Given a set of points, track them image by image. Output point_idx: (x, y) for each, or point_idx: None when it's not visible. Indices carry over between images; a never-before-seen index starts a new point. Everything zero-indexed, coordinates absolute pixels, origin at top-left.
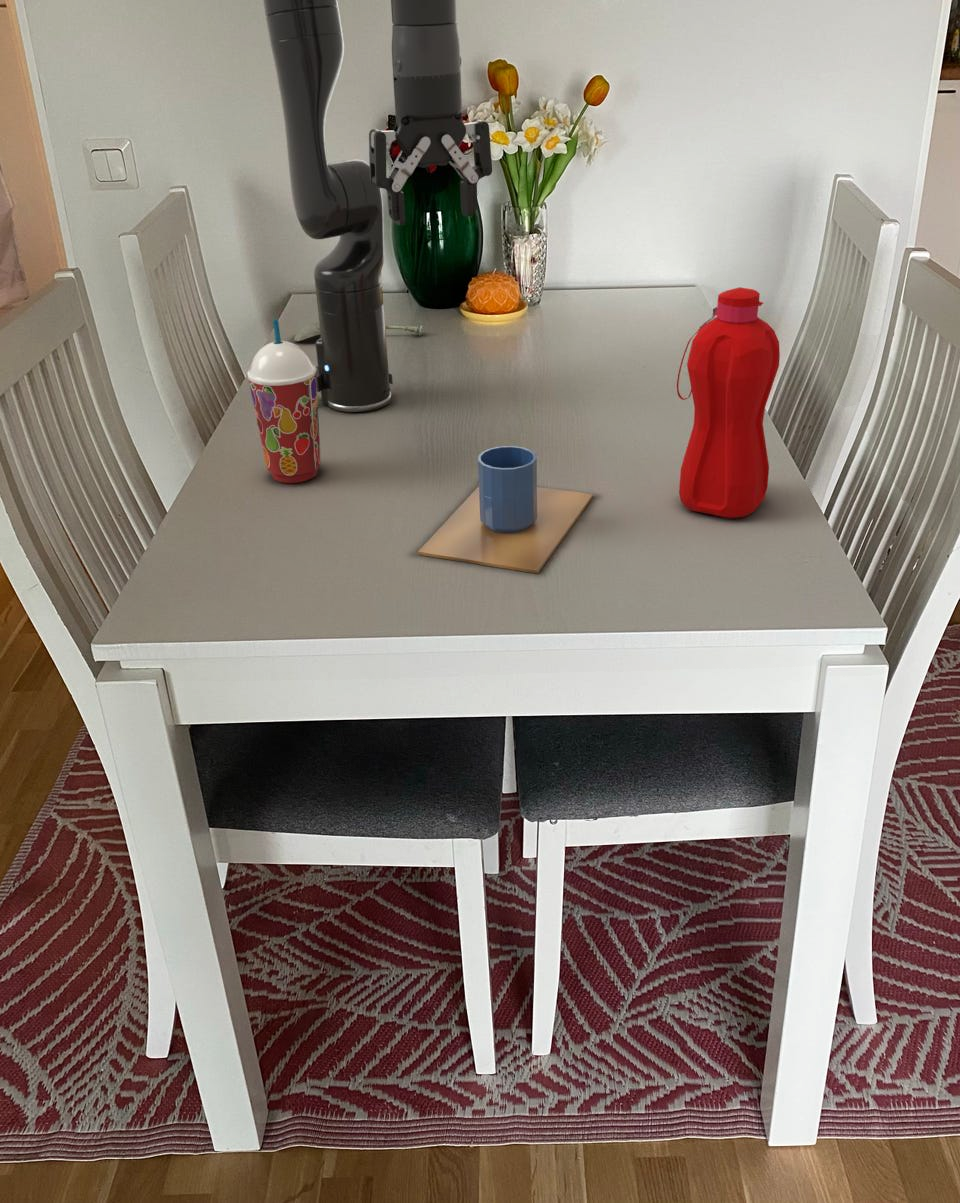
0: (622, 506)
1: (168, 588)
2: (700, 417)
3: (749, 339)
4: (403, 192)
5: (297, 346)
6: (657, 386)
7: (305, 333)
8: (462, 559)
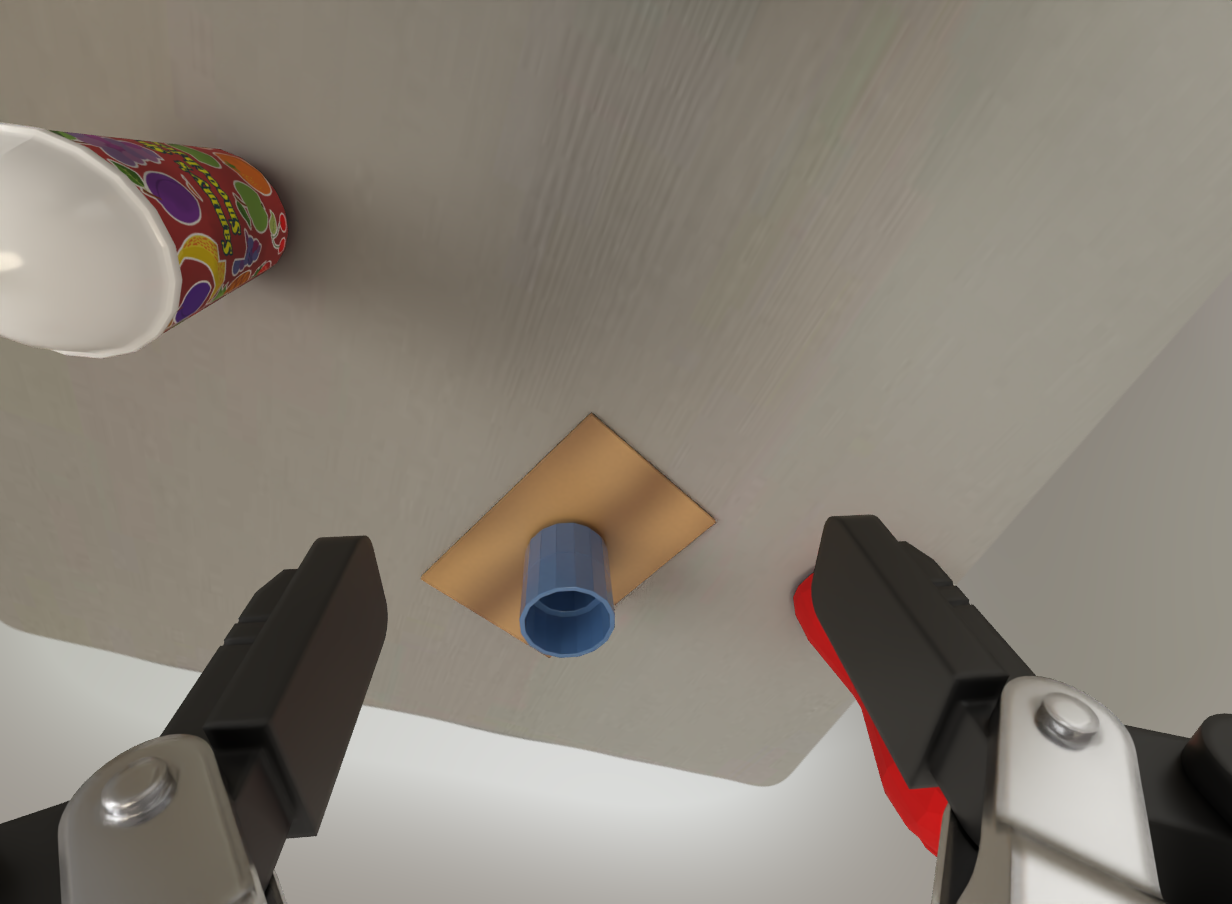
0: (732, 554)
1: (47, 541)
2: (859, 704)
3: None
4: (313, 835)
5: (63, 272)
6: (1184, 97)
7: None
8: (472, 610)
